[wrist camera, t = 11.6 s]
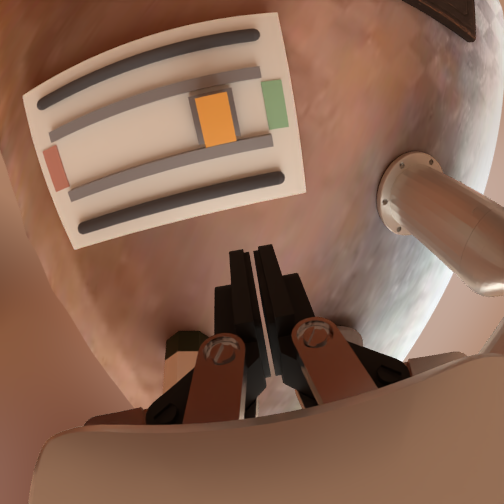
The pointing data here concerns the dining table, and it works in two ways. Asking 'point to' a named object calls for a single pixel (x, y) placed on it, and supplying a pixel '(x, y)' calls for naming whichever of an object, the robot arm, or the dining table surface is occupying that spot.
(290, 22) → the dining table surface
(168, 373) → the wine bottle
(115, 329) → the dining table surface
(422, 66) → the dining table surface
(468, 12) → the hardcover book
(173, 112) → the slider track board
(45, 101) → the dressed cords
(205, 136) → the handle
